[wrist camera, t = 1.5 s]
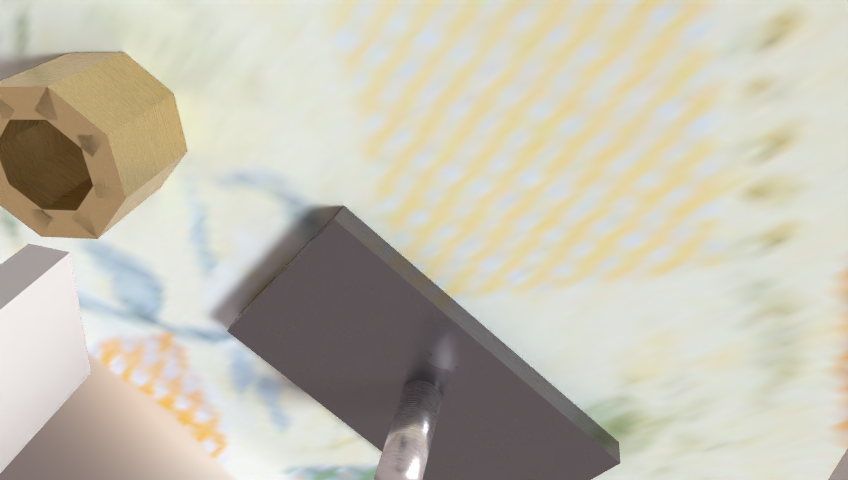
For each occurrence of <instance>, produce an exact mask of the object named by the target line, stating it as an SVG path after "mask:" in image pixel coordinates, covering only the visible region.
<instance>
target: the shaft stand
mask: <svg viewBox="0 0 848 480" xmlns="http://www.w3.org/2000/svg"><path fill="white" fill-rule="evenodd" d="M227 331H228V332H229V333H231V334H232V335H233V336H234V337H236V338H237V339H238V340H240V341H241V342H242V343H243V344H245V345H246V346H247V347H249V348H250V349H251V350H252V351H254V352H255V353H256V354H257V355H259V356H260V357H261V358H263V359H264V360H265V361H266V362H268V363H269V364H270V365H272V366H273V367H274V368H275V369H277V370H278V371H279V372H281V373H282V374H283V375H284V376H286V377H287V378H288V379H290V380H291V381H292V382H293V383H295V384H296V385H297V386H299V387H300V388H301V389H302V390H304V391H305V392H306V393H308V394H309V395H310V396H311V397H313V398H314V399H315V400H317V401H318V402H319V403H320V404H322V405H323V406H324V407H326V408H327V409H328V410H329V411H331V412H332V413H333V414H334V415H336V416H337V417H338V418H340V419H341V420H342V421H343V422H345V423H346V424H347V425H349V426H350V427H351V428H352V429H354V430H355V431H356V432H358V433H359V434H360V435H361V436H363V437H364V438H365V439H367V440H368V441H369V442H370V443H372V444H373V445H374V446H376V447H377V448H378V449H379V450H381V451H382V455H381V458H380V461H379V464H378V467H377V470H376V474H375V477H374V480H591V479H593V478H595V477H596V476H598V475H600V474H602V473H603V472H605V471H607V470H609V469H611V468H612V467H614V466H616V465H618V464H619V463H620V453H619V442H618V441H616V440H615V439H614V438H613V437H612V436H611V435H609V434H608V433H607V432H606V431H605V430H604V429H602V428H601V427H600V426H599V425H598V424H597V423H595V422H594V421H593V420H592V419H591V418H590V417H588V416H587V415H586V414H585V413H584V412H583V411H582V410H580V409H579V408H578V407H577V406H576V405H575V404H573V403H572V402H571V401H570V400H569V399H568V398H566V397H565V396H564V395H563V394H562V393H561V392H559V391H558V390H557V389H556V388H555V387H554V386H553V385H551V384H550V383H549V382H548V381H547V380H546V379H544V378H543V377H542V376H541V375H540V374H539V373H537V372H536V371H535V370H534V369H533V368H532V367H530V366H529V365H528V364H527V363H526V362H525V361H523V360H522V359H521V358H520V357H519V356H518V355H517V354H515V353H514V352H513V351H512V350H511V349H510V348H508V347H507V346H506V345H505V344H504V343H503V342H501V341H500V340H499V339H498V338H497V337H496V336H494V335H493V334H492V333H491V332H490V331H489V330H488V329H486V328H485V327H484V326H483V325H482V324H481V323H479V322H478V321H477V320H476V319H475V318H474V317H472V316H471V315H470V314H469V313H468V312H467V311H465V310H464V309H463V308H462V307H461V306H460V305H458V304H457V303H456V302H455V301H454V300H453V299H452V298H450V297H449V296H448V295H447V294H446V293H445V292H443V291H442V290H441V289H440V288H439V287H438V286H436V285H435V284H434V283H433V282H432V281H431V280H429V279H428V278H427V277H426V276H425V275H424V274H422V273H421V272H420V271H419V270H418V269H417V268H416V267H414V266H413V265H412V264H411V263H410V262H409V261H407V260H406V259H405V258H404V257H403V256H402V255H400V254H399V253H398V252H397V251H396V250H395V249H393V248H392V247H391V246H390V245H389V244H388V243H387V242H385V241H384V240H383V239H382V238H381V237H380V236H378V235H377V234H376V233H375V232H374V231H373V230H371V229H370V228H369V227H368V226H367V225H366V224H364V223H363V222H362V221H361V220H360V219H359V218H357V217H356V216H355V215H354V214H353V213H352V212H351V211H349V210H348V209H347V208H346V207H345V206H343V207H342V208H341V209H340V211H339V212H338V213H337V214H336V215H335V216H334V217H333V218H332V219H331V220H330V221H329V222H328V223H327V224H326V225H325V226H324V227H323V228H322V229H321V230H320V231H319V232H318V233H317V234H316V235H315V236H314V237H313V238H312V240H311V241H310V242H309V243H308V244H307V245H306V246H305V247H304V248H303V249H302V250H301V251H300V252H299V253H298V254H297V255H296V256H295V257H294V258H293V259H292V260H291V261H290V262H289V263H288V264H287V265H286V266H285V267H284V269H283V270H282V271H281V272H280V273H279V274H278V275H277V276H276V277H275V278H274V279H273V280H272V281H271V282H270V283H269V284H268V285H267V286H266V287H265V288H264V289H263V290H262V291H261V292H260V293H259V294H258V295H257V296H256V298H255V299H254V300H253V301H252V302H251V303H250V304H249V305H248V306H247V307H246V308H245V309H244V310H243V311H242V312H241V313H240V314H239V315H238V317H237V318H236V319H235V321H234V322H233V323H232V325H231V326H230V328H229V329H228V330H227Z"/></svg>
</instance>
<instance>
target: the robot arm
mask: <svg viewBox="0 0 848 480" xmlns="http://www.w3.org/2000/svg"><path fill="white" fill-rule="evenodd" d="M90 373H91V371H90V364H89V359H88V353H87V347H86V342H85V336H84V330H83V325H82V319H81V313H80V308H79V302H78V296H77V291H76V285H75V279H74V274H73V268H72V262H71V257H70V252H65V251H60V250H56V249H51V248H46V247H42V246H37V245H32V244H28V245H26V246H25V247H24V248H22V249H21V250H20V251H18V252H17V253H16V254H14V255H13V256H12V257H10V258H9V259H8V260H6V261H5V262H4V263H2V264H1V265H0V473H1V472H2V471H3V470H4V469H5V467H6V466H7V465H8V464H9V463H10V462H11V461H12V460H13V458H14V457H15V456H16V455H17V454H18V453H19V452H20V451H21V450H22V449H23V447H24V446H25V445H26V444H27V443H28V442H29V441H30V440H31V439H32V438H33V436H34V435H35V434H36V433H37V432H38V431H39V430H40V429H41V428H42V426H43V425H44V424H45V423H46V422H47V421H48V420H49V419H50V418H51V416H52V415H53V414H54V413H55V412H56V411H57V410H58V409H59V408H60V406H61V405H62V404H63V403H64V402H65V401H66V400H67V399H68V397H70V395H71V394H72V393H73V392H74V391H75V390H76V389H77V388H78V386H79V385H80V384H81V383H82V382H83V381H84V380H85V379H86V378H87V377H88V376H89V374H90ZM829 480H848V449H847V450H846V452H845V454H844V455H843V457H842V459H841V460H840V462H839V463H838V465H837V467H836V468H835V470H834V471H833V473H832V475H831V476H830V478H829Z"/></svg>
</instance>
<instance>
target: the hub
mask: <svg viewBox="0 0 848 480" xmlns="http://www.w3.org/2000/svg"><path fill="white" fill-rule="evenodd" d="M186 152H187V148H186V144H185V140H184V136H183V132H182V128H181V123H180V119H179V115H178V111H177V107H176V103H175V98H174V94H173V93H171V92H170V91H169V90H168V89H167V88H165V87H164V86H163V85H162V84H161V83H160V82H158V81H157V80H156V79H155V78H154V77H152V76H151V75H150V74H149V73H148V72H147V71H145V70H144V69H143V68H142V67H141V66H140V65H138V64H137V63H136V62H135V61H134V60H132V59H131V58H130V57H129V56H128V55H127V54H125V53H124V52H89V53H68V54H65V55H63V56H60V57H58V58H55V59H53V60H50V61H48V62H45V63H43V64H40V65H38V66H36V67H33V68H31V69H28V70H26V71H23V72H21V73H18V74H16V75H13V76H11V77H8V78H6V79H4V80H1V81H0V205H1V206H2V207H3V208H4V209H6V210H7V211H8V212H10V213H11V214H12V215H14V216H15V217H16V218H18V219H19V220H20V221H22V222H23V223H24V224H25V225H27V226H28V227H29V228H31V229H32V230H33V231H35V232H36V233H37V234H39V235H40V236H42V237H66V238H90V239H98V238H99V237H100V236H101V235H103V234H104V233H105V232H106V231H108V230H109V229H110V228H111V227H112V226H114V225H115V224H116V223H117V222H119V221H120V220H121V219H122V218H123V217H125V216H126V215H127V214H128V213H130V212H131V211H132V210H133V209H134V208H136V207H137V206H138V205H139V204H141V203H142V202H143V201H144V200H145V199H147V198H148V197H149V196H150V195H152V194H153V193H154V192H155V191H156V190H158V189H159V188H160V187H161V186H162V184H163V183H164V182H165V180H166V179H167V177H168V176H169V175H170V173H171V172H172V171H173V169H174V168H175V167H176V165H177V164H178V163H179V161H180V160H181V159H182V157H183V156H184V155H185V153H186Z"/></svg>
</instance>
